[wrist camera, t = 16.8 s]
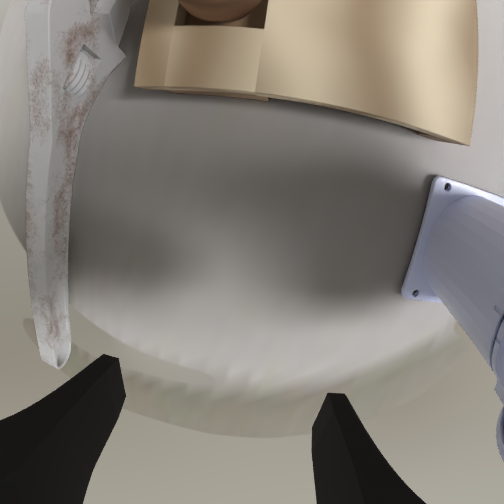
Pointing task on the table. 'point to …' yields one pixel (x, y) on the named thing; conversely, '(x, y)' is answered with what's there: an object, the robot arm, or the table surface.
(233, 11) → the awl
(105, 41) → the wrench
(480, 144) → the table surface
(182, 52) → the beige slab with cutout
